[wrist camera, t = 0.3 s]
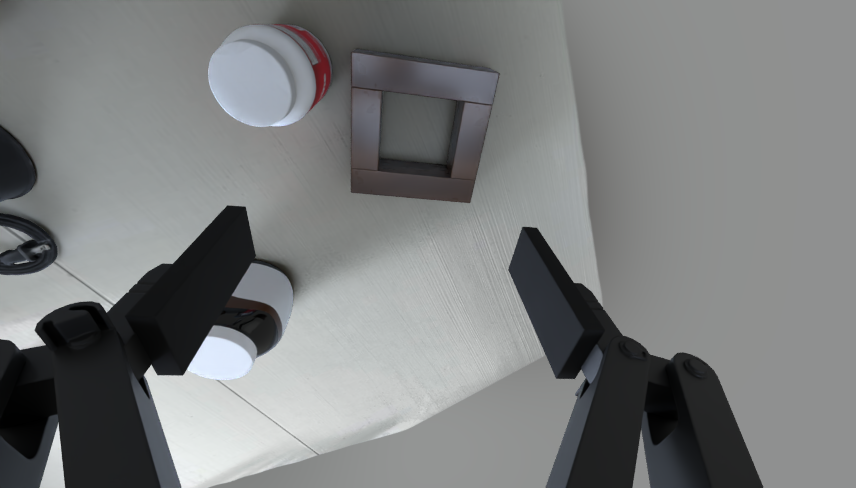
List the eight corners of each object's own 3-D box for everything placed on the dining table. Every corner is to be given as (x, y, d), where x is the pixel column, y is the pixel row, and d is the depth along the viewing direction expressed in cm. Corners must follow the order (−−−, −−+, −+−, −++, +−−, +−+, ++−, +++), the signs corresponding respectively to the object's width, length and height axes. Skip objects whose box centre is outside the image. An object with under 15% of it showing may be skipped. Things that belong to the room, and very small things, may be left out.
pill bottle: (300, 117, 31) (259, 157, 22) (244, 58, 28) (169, 75, 19) (348, 74, 29) (325, 97, 20) (294, 5, 26) (238, -4, 17)
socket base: (356, 48, 28) (351, 51, 25) (490, 68, 30) (499, 73, 27) (354, 178, 35) (350, 192, 32) (464, 188, 36) (470, 203, 33)
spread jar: (296, 259, 40) (264, 335, 30) (302, 323, 46) (277, 402, 37) (189, 253, 38) (120, 330, 29) (211, 319, 45) (160, 401, 35)
